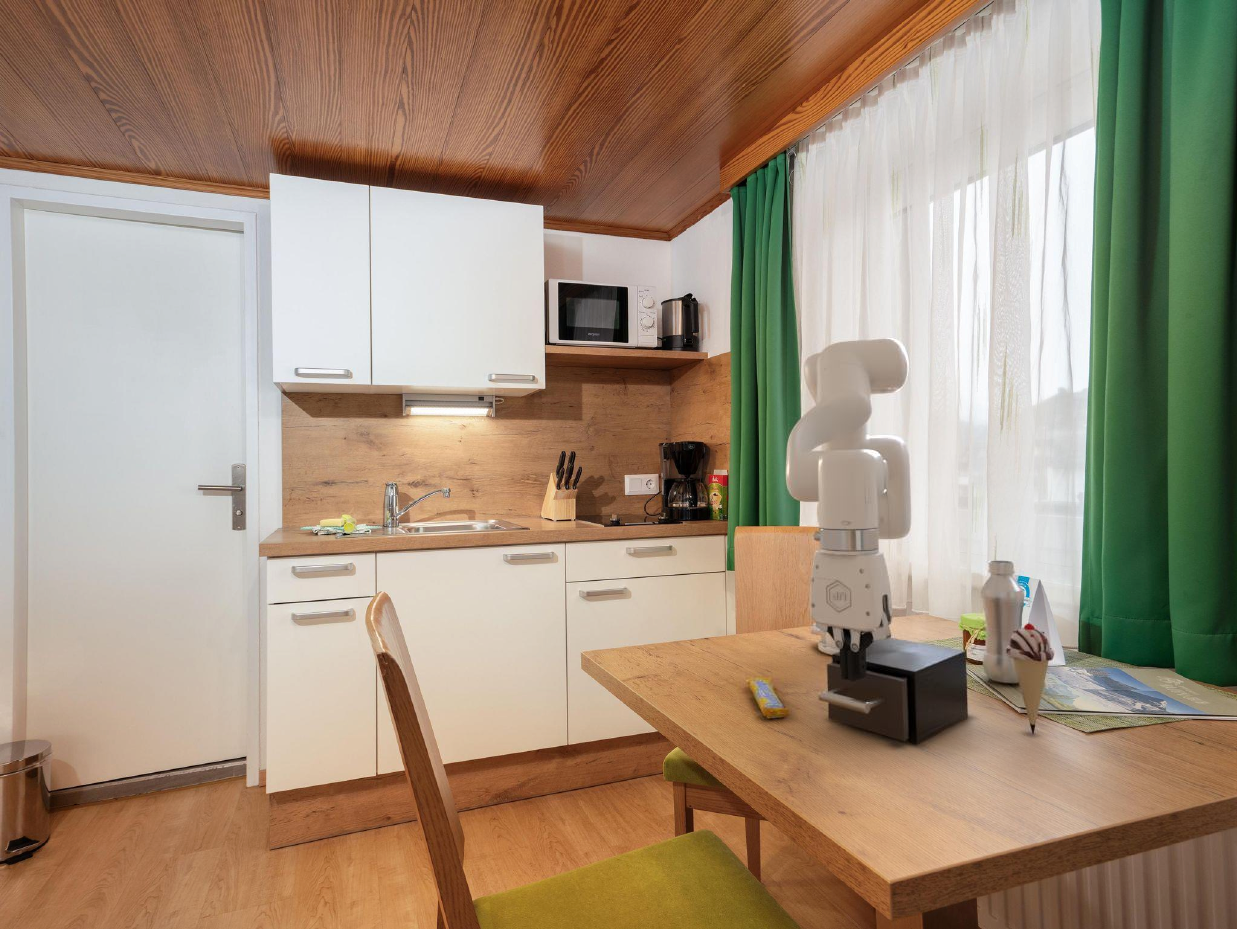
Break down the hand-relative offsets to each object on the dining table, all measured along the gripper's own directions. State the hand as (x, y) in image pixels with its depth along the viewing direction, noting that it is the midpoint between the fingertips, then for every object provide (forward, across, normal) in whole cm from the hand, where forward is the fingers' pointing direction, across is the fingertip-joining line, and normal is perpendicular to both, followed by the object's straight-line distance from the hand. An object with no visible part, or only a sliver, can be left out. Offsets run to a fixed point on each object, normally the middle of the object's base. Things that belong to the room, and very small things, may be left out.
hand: (853, 677), depth 94 cm
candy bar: (+8, -18, +4) cm, 20 cm away
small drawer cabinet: (+8, 0, +12) cm, 15 cm away
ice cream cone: (+9, +15, +19) cm, 26 cm away
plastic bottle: (+8, +3, +40) cm, 41 cm away
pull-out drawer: (+8, 0, +7) cm, 10 cm away
